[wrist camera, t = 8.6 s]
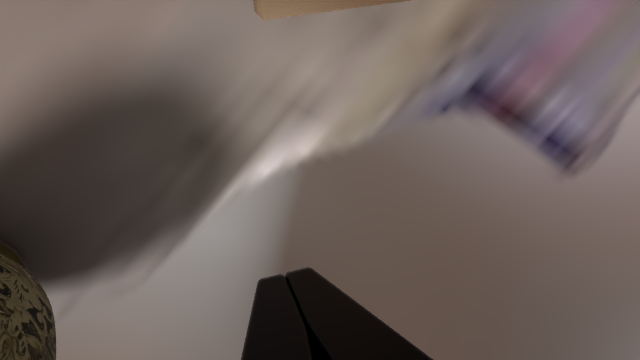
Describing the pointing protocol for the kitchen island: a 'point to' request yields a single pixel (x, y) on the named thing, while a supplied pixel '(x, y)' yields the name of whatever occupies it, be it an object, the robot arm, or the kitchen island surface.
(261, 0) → the stand
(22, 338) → the cup
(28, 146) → the kitchen island surface
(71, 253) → the kitchen island surface
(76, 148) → the kitchen island surface
